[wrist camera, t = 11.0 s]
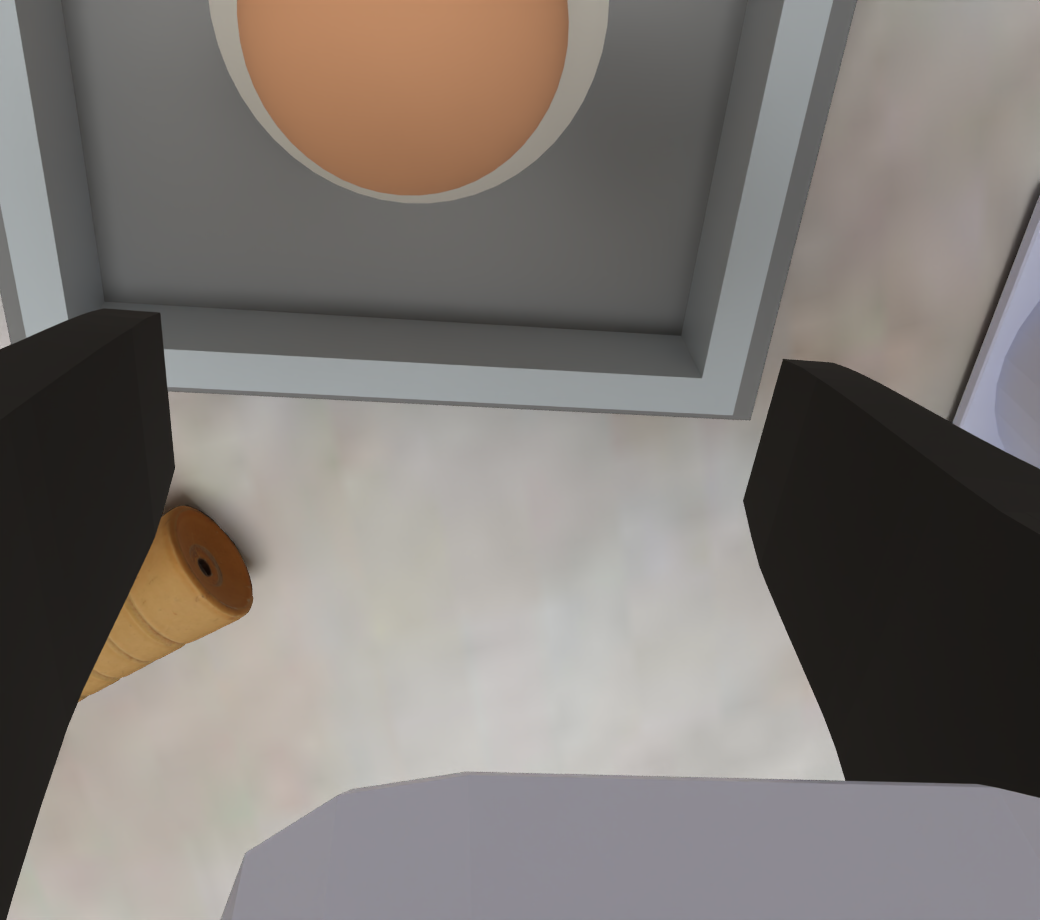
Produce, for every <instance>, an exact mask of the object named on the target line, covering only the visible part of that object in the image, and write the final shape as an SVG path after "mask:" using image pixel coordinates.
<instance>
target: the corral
mask: <svg viewBox="0 0 1040 920" xmlns="http://www.w3.org/2000/svg"><path fill="white" fill-rule="evenodd" d="M567 2H568V16H569V30H568V46H567V52H566V58H565V64H564V69H563V72H562V75H561V79H560V82H559V85H558V89H557V91H556V93H555V95H554V98H553V100H552V102H551V104H550V107H549V109H548V110H547V112H546V114H545V115H544V117H543V119H542V120H541V122H540V124H539V125H538V127H537V129H536V130H535V131H534V132H533V134H532V135H531V136H530V137H529V139H528V140H527V141H526V143H525V144H524V145H523V146H522V147H521V148H520V149H519V150H518V151H517V152H516V153H515V154H514V155H513V156H512V157H511V158H510V159H509V160H507V161H506V162H505V163H503V164H502V165H501V166H499V167H498V168H497V169H495V170H494V171H493V172H491V173H489V174H487V175H486V176H484V177H482V178H480V179H479V180H477V181H475V182H472V183H470V184H467V185H465V186H462V187H460V188H457V189H453V190H449V191H445V192H441V193H436V194H428V195H394V194H387V193H380V192H376V191H373V190H369V189H365V188H361V187H359V186H356V185H354V184H351V183H349V182H347V181H344V180H342V179H340V178H338V177H336V176H335V175H333V174H331V173H329V172H327V171H326V170H324V169H322V168H321V167H320V166H318V165H317V164H316V163H314V162H313V161H312V160H310V159H309V158H307V157H306V156H305V155H304V154H303V153H302V152H301V151H300V150H299V149H298V148H296V147H295V146H294V145H293V144H292V143H291V142H290V141H289V140H288V138H287V137H286V136H285V135H284V134H283V132H282V131H281V130H280V129H279V128H278V127H277V125H276V124H275V122H274V121H273V119H272V118H271V116H270V115H269V113H268V112H267V110H266V109H265V107H264V106H263V104H262V102H261V100H260V98H259V96H258V94H257V92H256V90H255V88H254V86H253V83H252V81H251V78H250V75H249V72H248V70H247V67H246V64H245V60H244V56H243V52H242V48H241V44H240V37H239V29H238V20H237V0H0V293H1V298H2V303H3V308H4V312H5V317H6V322H7V327H8V332H9V337H10V342H11V344H14V343H16V342H18V341H20V340H23V339H25V338H27V337H29V336H32V335H34V334H36V333H38V332H41V331H43V330H45V329H48V328H50V327H52V326H55V325H57V324H59V323H62V322H64V321H66V320H69V319H71V318H74V317H77V316H79V315H82V314H85V313H88V312H91V311H95V310H99V309H103V308H106V309H120V310H133V311H147V312H160V314H161V325H162V336H163V346H164V357H165V367H166V378H167V389H168V391H172V392H192V393H212V394H232V395H252V396H272V397H292V398H312V399H332V400H352V401H372V402H392V403H412V404H432V405H452V406H472V407H492V408H512V409H532V410H552V411H572V412H592V413H612V414H632V415H652V416H672V417H692V418H712V419H732V420H751V416H752V412H753V408H754V404H755V400H756V396H757V392H758V388H759V384H760V380H761V376H762V372H763V369H764V365H765V361H766V357H767V353H768V349H769V345H770V341H771V337H772V333H773V329H774V325H775V321H776V317H777V313H778V309H779V306H780V302H781V298H782V294H783V290H784V286H785V282H786V278H787V274H788V270H789V266H790V262H791V258H792V254H793V250H794V246H795V243H796V239H797V235H798V231H799V227H800V223H801V219H802V215H803V211H804V207H805V203H806V199H807V195H808V191H809V187H810V183H811V180H812V176H813V172H814V168H815V164H816V160H817V156H818V152H819V148H820V144H821V140H822V136H823V132H824V128H825V124H826V120H827V117H828V113H829V109H830V105H831V101H832V97H833V93H834V89H835V85H836V81H837V77H838V73H839V69H840V65H841V61H842V57H843V54H844V50H845V46H846V42H847V38H848V34H849V30H850V26H851V22H852V18H853V14H854V10H855V6H856V2H857V0H567Z"/></svg>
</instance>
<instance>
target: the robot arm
mask: <svg viewBox="0 0 1040 920" xmlns="http://www.w3.org/2000/svg"><path fill="white" fill-rule="evenodd" d="M174 470H175V463H174V452H173V442H172V431H171V420H170V410H169V399H168V389H167V378H166V367H165V357H164V346H163V336H162V325H161V314H160V312H147V311H133V310H120V309H106V308H103V309H99V310H95V311H91V312H88V313H85V314H82V315H79V316H77V317H74V318H71V319H69V320H66V321H64V322H62V323H59V324H57V325H55V326H52V327H50V328H48V329H45V330H43V331H41V332H38V333H36V334H34V335H32V336H29V337H27V338H25V339H23V340H20V341H18V342H16V343H14V344H11V345H9V346H7V347H4V348H2V349H0V920H6V919H7V915H8V912H9V908H10V904H11V901H12V898H13V894H14V891H15V888H16V885H17V881H18V878H19V875H20V872H21V869H22V865H23V862H24V859H25V856H26V853H27V849H28V846H29V843H30V840H31V836H32V833H33V830H34V827H35V824H36V820H37V817H38V814H39V811H40V807H41V805H42V802H43V799H44V796H45V793H46V790H47V787H48V784H49V781H50V778H51V775H52V772H53V769H54V766H55V763H56V760H57V757H58V754H59V751H60V748H61V745H62V742H63V739H64V736H65V733H66V730H67V727H68V725H69V722H70V720H71V718H72V715H73V713H74V710H75V708H76V706H77V703H78V701H79V698H80V696H81V694H82V691H83V689H84V687H85V685H86V683H87V680H88V678H89V676H90V674H91V672H92V670H93V668H94V666H95V664H96V662H97V660H98V657H99V655H100V653H101V651H102V649H103V647H104V645H105V643H106V641H107V639H108V636H109V634H110V632H111V630H112V628H113V626H114V624H115V622H116V620H117V618H118V616H119V613H120V611H121V609H122V607H123V605H124V603H125V601H126V599H127V597H128V595H129V592H130V590H131V588H132V586H133V584H134V582H135V580H136V577H137V575H138V573H139V571H140V569H141V567H142V565H143V562H144V560H145V558H146V556H147V554H148V552H149V549H150V547H151V545H152V543H153V540H154V538H155V536H156V532H157V529H158V526H159V523H160V519H161V516H162V513H163V510H164V506H165V503H166V499H167V495H168V492H169V488H170V484H171V481H172V477H173V473H174ZM743 502H744V506H745V511H746V515H747V519H748V524H749V528H750V532H751V537H752V541H753V544H754V548H755V552H756V555H757V559H758V563H759V566H760V569H761V571H762V574H763V576H764V579H765V581H766V584H767V586H768V589H769V591H770V593H771V596H772V598H773V600H774V603H775V605H776V608H777V610H778V612H779V615H780V617H781V619H782V622H783V624H784V626H785V629H786V631H787V633H788V635H789V638H790V640H791V642H792V645H793V647H794V649H795V651H796V654H797V656H798V658H799V661H800V663H801V665H802V668H803V670H804V672H805V674H806V677H807V679H808V681H809V684H810V686H811V688H812V690H813V693H814V695H815V697H816V700H817V702H818V704H819V707H820V709H821V711H822V713H823V716H824V719H825V721H826V724H827V727H828V729H829V732H830V734H831V737H832V740H833V742H834V745H835V748H836V751H837V754H838V757H839V761H840V764H841V767H842V771H843V774H844V777H845V781H830V780H788V779H747V778H706V777H665V776H624V775H582V774H541V773H500V772H461V773H454V774H448V775H441V776H435V777H428V778H422V779H415V780H409V781H402V782H396V783H389V784H383V785H376V786H370V787H363V788H357V789H352V790H349V791H347V792H344V793H342V794H339V795H337V796H336V797H334V798H332V799H331V800H329V801H328V802H326V803H324V804H323V805H321V806H320V807H318V808H316V809H315V810H313V811H312V812H310V813H308V814H307V815H305V816H304V817H302V818H300V819H299V820H297V821H296V822H294V823H292V824H291V825H289V826H288V827H286V828H284V829H283V830H281V831H280V832H278V833H276V834H275V835H273V836H272V837H270V838H269V839H267V840H265V841H264V842H262V843H261V844H259V845H257V846H256V847H254V848H253V849H251V850H249V851H248V852H246V853H245V855H244V858H243V861H242V863H241V866H240V869H239V871H238V874H237V877H236V879H235V882H234V885H233V887H232V890H231V893H230V896H229V898H228V901H227V904H226V906H225V909H224V912H223V914H222V917H221V920H1040V196H1039V198H1038V201H1037V203H1036V206H1035V208H1034V211H1033V214H1032V216H1031V219H1030V221H1029V224H1028V227H1027V229H1026V232H1025V235H1024V237H1023V240H1022V242H1021V245H1020V248H1019V250H1018V253H1017V255H1016V258H1015V261H1014V263H1013V266H1012V269H1011V271H1010V274H1009V276H1008V279H1007V282H1006V284H1005V287H1004V289H1003V292H1002V295H1001V297H1000V300H999V302H998V305H997V308H996V310H995V313H994V316H993V318H992V321H991V323H990V326H989V329H988V331H987V334H986V336H985V339H984V342H983V344H982V347H981V350H980V352H979V355H978V357H977V360H976V363H975V365H974V368H973V370H972V373H971V376H970V378H969V381H968V384H967V386H966V389H965V391H964V394H963V397H962V399H961V402H960V404H959V407H958V410H957V412H956V415H955V417H954V420H953V423H951V422H949V421H947V420H945V419H944V418H942V417H940V416H938V415H936V414H935V413H933V412H931V411H929V410H927V409H926V408H924V407H922V406H920V405H919V404H917V403H915V402H913V401H911V400H909V399H908V398H906V397H904V396H902V395H900V394H899V393H897V392H895V391H893V390H891V389H889V388H888V387H886V386H884V385H882V384H880V383H878V382H876V381H874V380H872V379H870V378H868V377H866V376H864V375H862V374H860V373H858V372H856V371H853V370H851V369H849V368H846V367H843V366H841V365H838V364H835V363H829V362H816V361H803V360H789V359H783V361H782V365H781V368H780V372H779V375H778V379H777V382H776V386H775V390H774V393H773V397H772V400H771V404H770V407H769V411H768V414H767V418H766V422H765V425H764V429H763V432H762V436H761V439H760V443H759V446H758V450H757V453H756V457H755V461H754V464H753V468H752V471H751V475H750V478H749V482H748V485H747V489H746V493H745V496H744V500H743Z"/></svg>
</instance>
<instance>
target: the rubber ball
mask: <svg viewBox="0 0 1040 920" xmlns="http://www.w3.org/2000/svg"><path fill="white" fill-rule="evenodd" d="M237 20H238V29H239V37H240V44H241V48H242V52H243V56H244V60H245V64H246V67H247V70H248V72H249V75H250V78H251V81H252V83H253V86H254V88H255V90H256V92H257V94H258V96H259V98H260V100H261V102H262V104H263V106H264V107H265V109H266V110H267V112H268V113H269V115H270V116H271V118H272V119H273V121H274V122H275V124H276V125H277V127H278V128H279V129H280V130H281V131H282V132H283V134H284V135H285V136H286V137H287V138H288V140H289V141H290V142H291V143H292V144H293V145H294V146H295V147H296V148H298V149H299V150H300V151H301V152H302V153H303V154H304V155H305V156H306V157H307V158H309V159H310V160H312V161H313V162H314V163H316V164H317V165H318V166H320V167H321V168H322V169H324V170H326V171H327V172H329V173H331V174H333V175H335V176H336V177H338V178H340V179H342V180H344V181H347V182H349V183H351V184H354V185H356V186H359V187H361V188H365V189H369V190H373V191H376V192H380V193H387V194H394V195H428V194H436V193H441V192H445V191H449V190H453V189H457V188H460V187H462V186H465V185H467V184H470V183H472V182H475V181H477V180H479V179H480V178H482V177H484V176H486V175H487V174H489V173H491V172H493V171H494V170H495V169H497V168H498V167H499V166H501V165H502V164H503V163H505V162H506V161H507V160H509V159H510V158H511V157H512V156H513V155H514V154H515V153H516V152H517V151H518V150H519V149H520V148H521V147H522V146H523V145H524V144H525V143H526V141H527V140H528V139H529V137H530V136H531V135H532V134H533V132H534V131H535V130H536V129H537V127H538V125H539V124H540V122H541V120H542V119H543V117H544V115H545V114H546V112H547V110H548V109H549V107H550V104H551V102H552V100H553V98H554V95H555V93H556V91H557V89H558V85H559V82H560V79H561V75H562V72H563V69H564V64H565V58H566V52H567V46H568V30H569V16H568V2H567V0H237Z"/></svg>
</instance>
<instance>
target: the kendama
mask: <svg viewBox="0 0 1040 920" xmlns="http://www.w3.org/2000/svg"><path fill="white" fill-rule="evenodd" d="M252 603H253V596H252V584H251V579H250V576H249V573H248V570H247V567H246V565H245V563H244V561H243V559H242V557H241V555H240V553H239V551H238V550H237V548H236V546H235V544H234V543H233V542H232V541H231V540H230V538H229V537H228V536H227V534H225V533H224V532H223V530H222V529H220V527H219V526H218V525H217V524H216V523H215V522H214V521H213V520H212V519H211V518H209V517H208V516H206V515H205V514H203V513H202V512H200V511H198V510H197V509H194V508H192V507H189V506H178V507H176V508H174V509H172V510H170V511H169V512H168V513H166V514H165V515H164V516H162V517H161V519H160V523H159V526H158V529H157V532H156V536H155V538H154V540H153V543H152V545H151V547H150V549H149V552H148V554H147V556H146V558H145V560H144V562H143V565H142V567H141V569H140V571H139V573H138V575H137V577H136V580H135V582H134V584H133V586H132V588H131V590H130V592H129V595H128V597H127V599H126V601H125V603H124V605H123V607H122V609H121V611H120V613H119V616H118V618H117V620H116V622H115V624H114V626H113V628H112V630H111V632H110V634H109V636H108V639H107V641H106V643H105V645H104V647H103V649H102V651H101V653H100V655H99V657H98V660H97V662H96V664H95V666H94V668H93V670H92V672H91V674H90V676H89V678H88V680H87V683H86V685H85V687H84V689H83V691H82V694H81V696H80V698H79V701H81V700H83V699H84V698H86V697H87V696H89V695H91V694H93V693H96V692H98V691H100V690H101V689H103V688H105V687H107V686H109V685H111V684H113V683H114V682H116V681H118V680H119V679H120V678H122V677H125V676H128V675H130V674H132V673H133V672H135V671H137V670H139V669H141V668H143V667H145V666H146V665H148V664H150V663H152V662H153V661H155V660H157V659H160V658H162V657H164V656H166V655H168V654H170V653H172V652H173V651H175V650H177V649H179V648H181V647H182V646H184V645H185V644H186V643H190V642H192V641H195V640H197V639H199V638H202V637H204V636H206V635H208V634H210V633H212V632H214V631H216V630H218V629H220V628H222V627H224V626H226V625H228V624H230V623H232V622H234V621H236V620H238V619H240V618H241V617H243V616H244V615H246V614H247V613H248V612H249V610H250V608H251V606H252ZM79 701H78V702H79Z"/></svg>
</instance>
